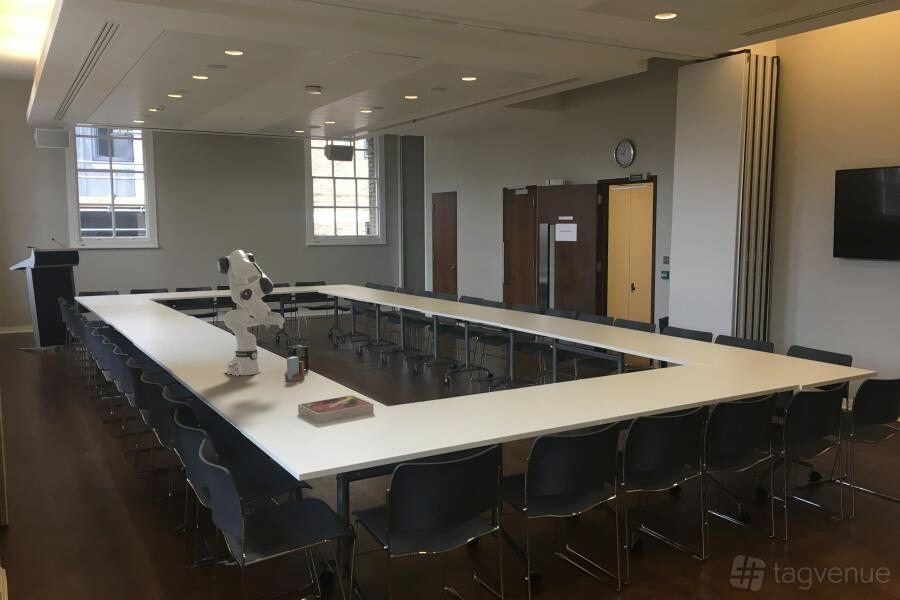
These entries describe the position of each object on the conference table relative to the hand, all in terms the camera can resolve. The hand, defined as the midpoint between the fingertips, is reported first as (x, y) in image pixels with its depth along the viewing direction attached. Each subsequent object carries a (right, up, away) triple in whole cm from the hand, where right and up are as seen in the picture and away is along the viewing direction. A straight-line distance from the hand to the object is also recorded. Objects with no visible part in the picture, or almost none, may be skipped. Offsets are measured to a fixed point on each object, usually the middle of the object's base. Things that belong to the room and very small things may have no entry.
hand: (275, 327), depth 402 cm
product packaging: (+44, -39, -66) cm, 88 cm away
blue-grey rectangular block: (+8, -30, +8) cm, 32 cm away
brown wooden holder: (+9, -30, +9) cm, 33 cm away
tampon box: (+5, -28, +37) cm, 46 cm away
